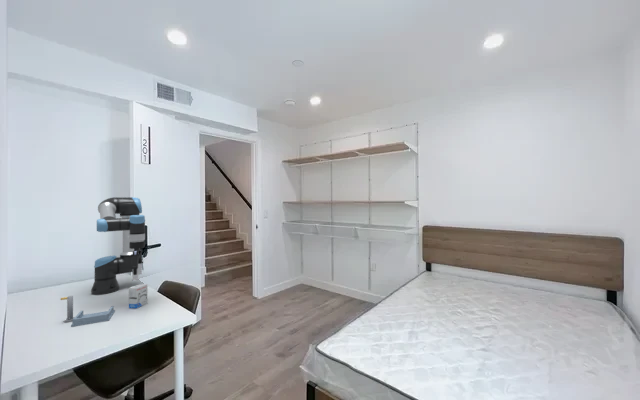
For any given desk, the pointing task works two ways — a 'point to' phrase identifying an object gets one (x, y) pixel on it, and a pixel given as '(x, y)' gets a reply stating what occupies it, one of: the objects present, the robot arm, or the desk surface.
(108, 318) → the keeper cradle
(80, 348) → the desk surface
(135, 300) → the ink box
